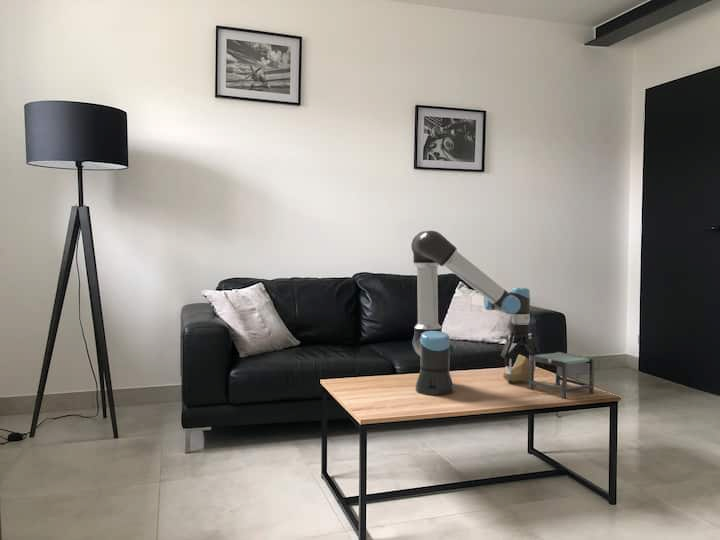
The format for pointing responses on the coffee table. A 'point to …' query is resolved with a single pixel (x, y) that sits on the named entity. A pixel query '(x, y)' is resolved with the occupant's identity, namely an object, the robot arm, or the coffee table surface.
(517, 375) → the low-poly potato
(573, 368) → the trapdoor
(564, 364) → the stand
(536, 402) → the coffee table surface
